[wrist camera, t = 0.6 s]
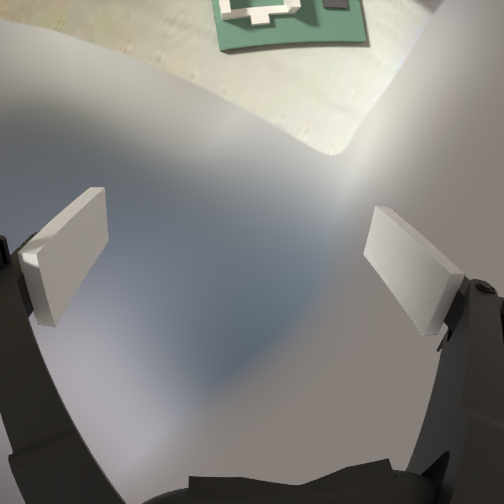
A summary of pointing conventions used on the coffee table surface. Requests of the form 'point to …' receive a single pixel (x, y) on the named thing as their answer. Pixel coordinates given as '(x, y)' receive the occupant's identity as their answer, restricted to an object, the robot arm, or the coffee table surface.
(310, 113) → the coffee table surface
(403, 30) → the coffee table surface
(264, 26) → the board
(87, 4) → the coffee table surface
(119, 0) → the coffee table surface
